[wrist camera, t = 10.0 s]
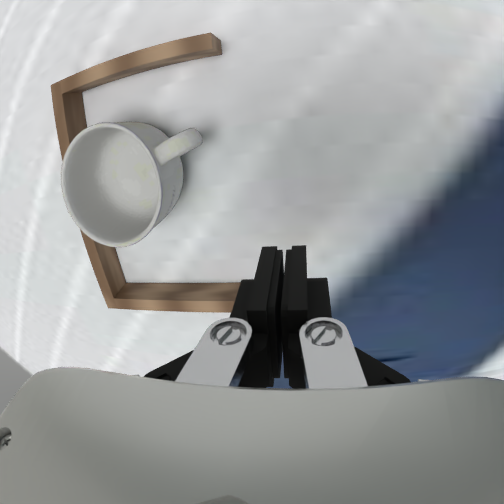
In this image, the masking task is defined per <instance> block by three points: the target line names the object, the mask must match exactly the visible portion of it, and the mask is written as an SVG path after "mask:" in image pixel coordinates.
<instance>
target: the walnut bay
mask: <svg viewBox="0 0 504 504" xmlns="http://www.w3.org/2000/svg"><path fill="white" fill-rule="evenodd" d="M216 55H222V49H221V41H220V39H218V38H217V37H216V36H214V35H213V34H212V33H207V34H202V35H197V36H192V37H187V38H183V39H179V40H175V41H171V42H167V43H163V44H159V45H156V46H152V47H149V48H145V49H142V50H139V51H135V52H132V53H129V54H126V55H123V56H120V57H117V58H114V59H112V60H109V61H106V62H104V63H101V64H98V65H96V66H93V67H91V68H88V69H86V70H83V71H81V72H79V73H76V74H74V75H72V76H70V77H67V78H65V79H63V80H61V81H59V82H57V83H55V84H52V85H51V92H52V101H53V108H54V115H55V122H56V128H57V134H58V140H59V145H60V150H61V155H62V160H63V159H64V156H65V153H66V151H67V149H68V147H69V145H70V143H71V142H72V141H73V139H74V138H75V137H76V136H77V135H78V134H79V133H80V132H81V131H83V130H84V129H86V128H87V125H86V119H85V112H84V105H83V98H82V92H83V91H86V90H89V89H91V88H94V87H97V86H100V85H102V84H105V83H108V82H111V81H114V80H117V79H120V78H124V77H127V76H130V75H133V74H137V73H140V72H144V71H148V70H151V69H155V68H159V67H163V66H167V65H171V64H175V63H180V62H184V61H189V60H194V59H199V58H205V57H210V56H216ZM80 230H81V229H80ZM81 234H82V237H83V240H84V243H85V246H86V249H87V252H88V255H89V258H90V261H91V264H92V267H93V270H94V272H95V275H96V278H97V281H98V283H99V286H100V289H101V291H102V294H103V296H104V299H105V301H106V304H107V306H108V308H116V309H133V310H153V311H180V312H232V309H233V305H234V302H235V299H236V296H237V293H238V289H239V286H240V283H126V281H125V278H124V275H123V272H122V269H121V265H120V262H119V259H118V256H117V253H116V249H115V247H110V246H106V245H103V244H100V243H98V242H96V241H94V240H93V239H91V238H90V237H88V236H87V235H86V234H85V233H83V231H82V230H81Z"/></svg>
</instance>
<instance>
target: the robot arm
mask: <svg viewBox="0 0 504 504" xmlns="http://www.w3.org/2000/svg"><path fill="white" fill-rule="evenodd" d="M282 352H283V361H284V378H289V386H291V387H292V388H293V389H280V388H266V387H273V384H274V378H280V372H281V362H282ZM0 504H504V380H500V379H494V378H488V377H455V378H446V379H438V380H419V379H418V382H410V380H409V379H408V378H406V377H405V376H404V375H402V374H400V373H399V372H397V371H395V370H393V369H392V368H390V367H388V366H387V365H385V364H383V363H381V362H380V361H378V360H376V359H375V358H373V357H371V356H370V355H368V354H366V353H365V352H363V351H361V350H359V349H358V348H356V347H354V346H353V343H352V340H351V338H350V335H349V332H348V330H347V328H346V326H345V325H344V324H343V323H341V322H340V321H338V320H336V319H333V318H332V316H331V306H330V297H329V289H328V281H327V278H307V262H306V245H304V246H292V250H286V260H285V271H284V266H283V252H282V250H277V246H271V247H262V250H261V254H260V258H259V262H258V266H257V270H256V274H255V278H254V279H250V280H242V281H241V283H240V286H239V289H238V293H237V296H236V299H235V302H234V305H233V309H232V312H231V315H230V318H225V319H221V320H218V321H216V322H214V323H213V324H211V325H210V326H209V327H208V328H207V330H206V331H205V333H204V335H203V336H202V338H201V340H200V341H199V343H198V344H197V346H196V348H195V349H194V350H193V351H191V352H189V353H187V354H185V355H183V356H181V357H179V358H177V359H175V360H173V361H171V362H169V363H167V364H165V365H163V366H161V367H159V368H157V369H155V370H153V371H151V372H149V373H148V374H146V375H145V376H144V377H140V376H139V375H127V374H121V373H115V372H108V371H102V370H96V369H90V368H80V367H58V368H51V369H46V370H43V371H40V372H37V373H36V374H34V375H33V376H31V377H30V378H29V379H28V380H27V381H26V382H25V383H24V384H23V386H22V387H21V388H20V389H19V390H18V392H17V393H16V394H15V395H14V397H13V398H12V399H11V401H10V402H9V403H8V405H7V406H6V408H5V409H4V411H3V412H2V414H1V415H0Z"/></svg>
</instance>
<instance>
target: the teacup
mask: <svg viewBox="0 0 504 504" xmlns="http://www.w3.org/2000/svg"><path fill="white" fill-rule="evenodd" d="M201 144H202V136H201V135H200V133H199V132H198V130H197V129H196V128H190V129H187V130H185V131H182V132H180V133H178V134H176V135H174V136H172V137H171V138H169V137H168V136H167V135H166V134H164V133H163V132H162V131H161V130H159V129H157V128H156V127H154V126H151V125H149V124H145V123H140V122H117V123H98V124H95V125H92V126H89V127H88V128H86V129H84V130H83V131H81V132H80V133H79V134H78V135H77V136H76V137H75V138H74V139H73V141H72V142H71V143H70V145H69V147H68V149H67V151H66V153H65V156H64V159H63V163H62V168H61V187H62V193H63V198H64V201H65V204H66V207H67V210H68V213H70V215H71V217H72V219H73V220H74V222H75V223H76V225H77V226H78V227H79V228H80V229H81V230H82V231H83V233H85V234H86V235H87V236H88V237H90V238H91V239H93V240H94V241H96V242H98V243H100V244H103V245H106V246H110V247H126V246H130V245H133V244H136V243H137V242H139V241H140V240H142V239H143V238H144V237H146V235H147V234H148V233H149V232H150V231H151V230H152V229H153V228H154V227H155V226H156V225H157V224H158V223H160V222H161V221H162V220H163V219H164V218H165V217H166V216H167V215H168V214H169V213H170V211H171V210H172V209H173V207H174V206H175V204H176V202H177V200H178V198H179V196H180V193H181V189H182V185H183V166H182V161H181V158H180V156H182V155H183V154H185V153H187V152H188V151H190V150H192V149H194V148H196V147H198V146H200V145H201Z"/></svg>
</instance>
